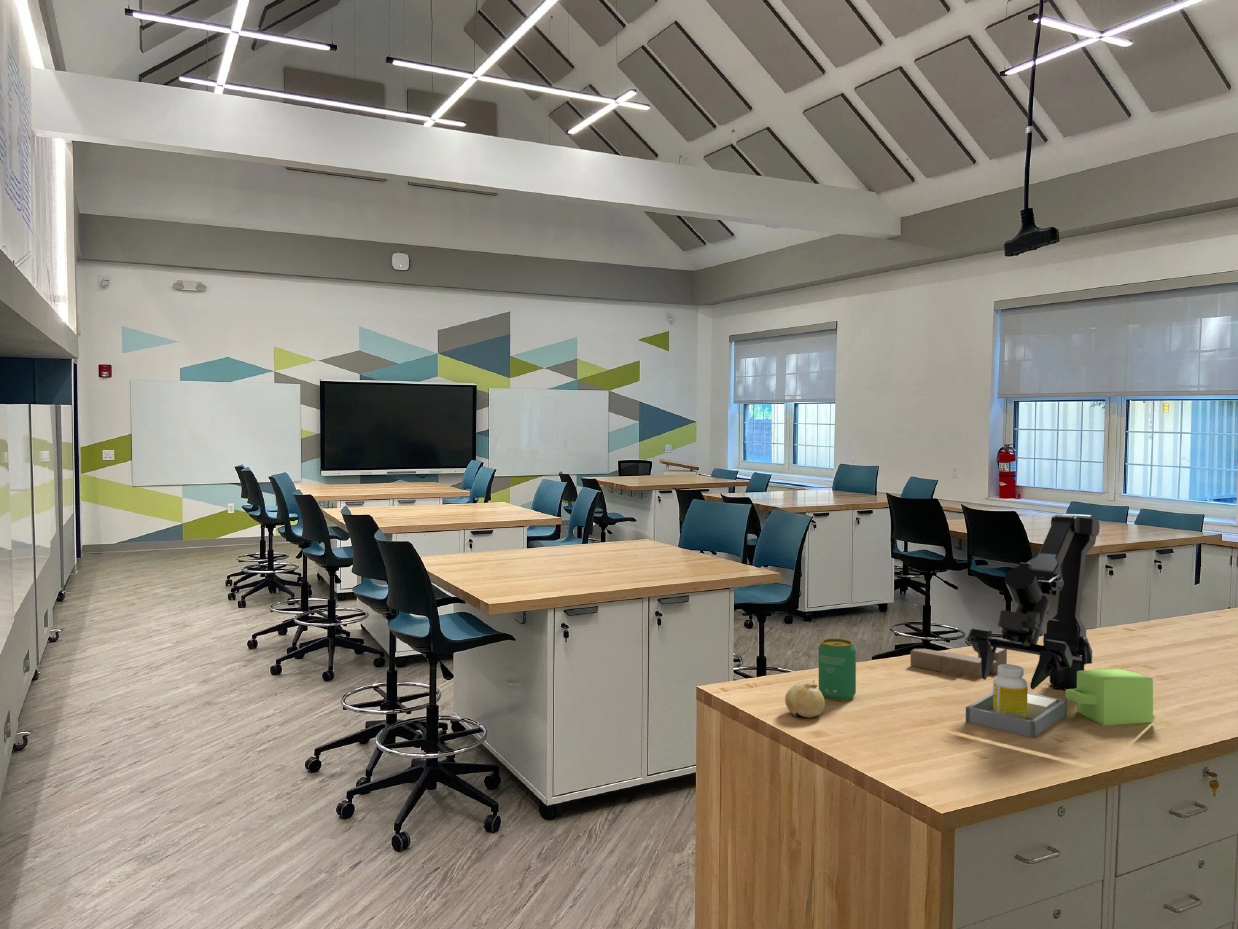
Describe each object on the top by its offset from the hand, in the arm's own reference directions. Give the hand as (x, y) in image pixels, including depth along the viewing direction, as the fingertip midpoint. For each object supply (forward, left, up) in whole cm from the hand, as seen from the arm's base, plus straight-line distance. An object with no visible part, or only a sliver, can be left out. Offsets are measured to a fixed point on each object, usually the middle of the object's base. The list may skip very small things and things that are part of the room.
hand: (1007, 683), depth 168 cm
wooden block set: (+10, -42, -9) cm, 44 cm away
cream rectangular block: (-4, -9, -8) cm, 13 cm away
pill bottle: (-1, -1, -8) cm, 8 cm away
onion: (+38, +7, -9) cm, 40 cm away
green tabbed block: (-20, -14, -9) cm, 26 cm away
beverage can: (+34, -8, -9) cm, 36 cm away
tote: (-2, -5, -9) cm, 10 cm away
